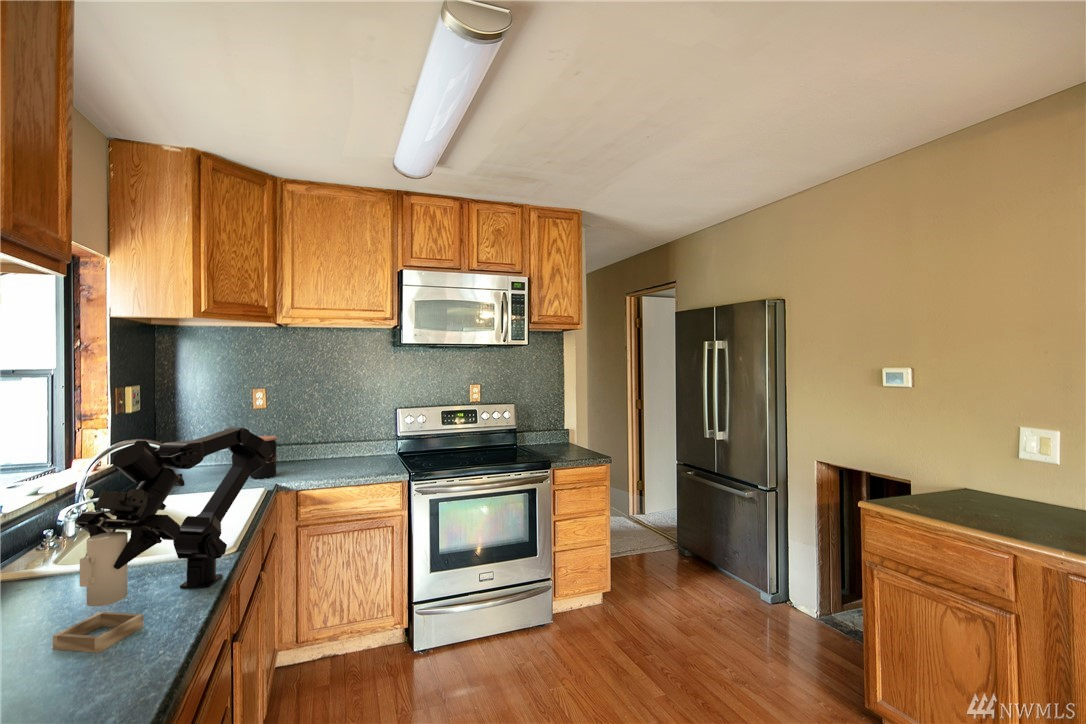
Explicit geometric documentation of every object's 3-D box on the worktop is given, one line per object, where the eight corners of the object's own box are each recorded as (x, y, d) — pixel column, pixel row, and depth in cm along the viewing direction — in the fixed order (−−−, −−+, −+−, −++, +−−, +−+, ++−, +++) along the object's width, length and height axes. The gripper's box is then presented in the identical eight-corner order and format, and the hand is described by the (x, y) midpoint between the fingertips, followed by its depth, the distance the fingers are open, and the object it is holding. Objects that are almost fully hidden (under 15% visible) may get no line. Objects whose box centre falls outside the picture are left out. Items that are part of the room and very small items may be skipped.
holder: (101, 624, 103) (101, 611, 103) (143, 627, 102) (143, 614, 102) (52, 649, 94) (52, 635, 94) (98, 652, 93) (98, 638, 93)
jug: (107, 591, 103) (108, 530, 103) (135, 592, 102) (135, 532, 102) (67, 610, 95) (68, 544, 95) (97, 612, 94) (97, 546, 94)
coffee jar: (268, 479, 231) (268, 439, 231) (244, 479, 231) (244, 439, 231) (280, 474, 242) (281, 436, 242) (258, 474, 242) (258, 435, 242)
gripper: (84, 471, 104) (23, 546, 93) (169, 474, 102) (117, 551, 91) (120, 500, 112) (68, 571, 101) (199, 503, 110) (155, 576, 99)
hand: (100, 567), depth 98 cm, fingers closed on jug, 6 cm apart
